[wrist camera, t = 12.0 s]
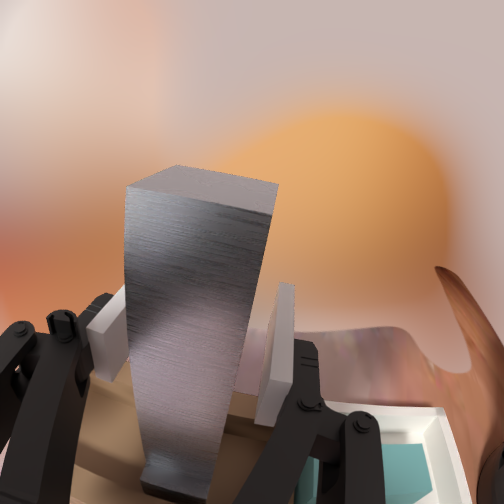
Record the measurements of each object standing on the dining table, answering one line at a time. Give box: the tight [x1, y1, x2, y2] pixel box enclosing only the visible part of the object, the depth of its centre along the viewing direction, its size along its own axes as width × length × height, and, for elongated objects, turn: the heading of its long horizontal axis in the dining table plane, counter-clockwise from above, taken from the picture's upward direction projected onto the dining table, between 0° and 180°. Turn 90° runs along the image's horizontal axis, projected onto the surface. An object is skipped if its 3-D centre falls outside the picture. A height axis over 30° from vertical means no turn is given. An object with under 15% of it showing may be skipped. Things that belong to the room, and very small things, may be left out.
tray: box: [324, 400, 472, 504], centre depth 15 cm, size 13×14×3 cm
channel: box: [70, 361, 294, 504], centre depth 15 cm, size 16×11×4 cm
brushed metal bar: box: [124, 165, 279, 504], centre depth 12 cm, size 4×6×17 cm, turn 173°
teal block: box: [293, 456, 319, 504], centre depth 15 cm, size 4×4×4 cm
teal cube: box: [381, 443, 433, 504], centre depth 15 cm, size 4×4×4 cm
